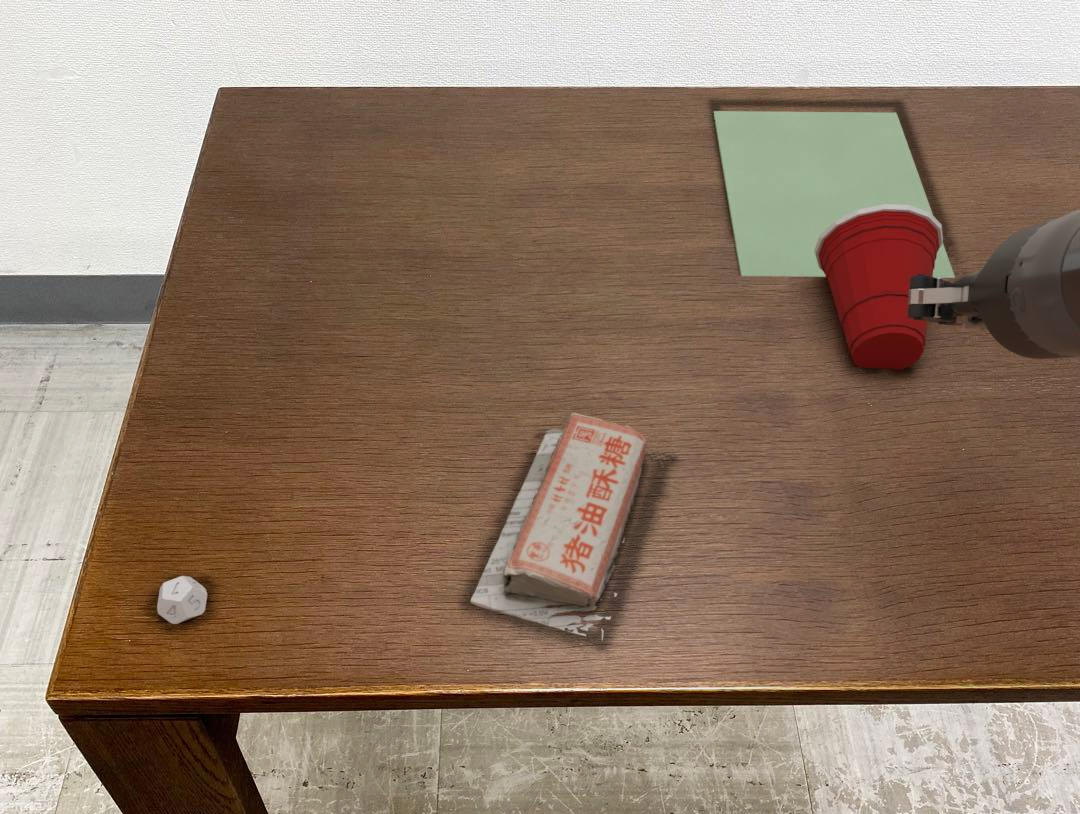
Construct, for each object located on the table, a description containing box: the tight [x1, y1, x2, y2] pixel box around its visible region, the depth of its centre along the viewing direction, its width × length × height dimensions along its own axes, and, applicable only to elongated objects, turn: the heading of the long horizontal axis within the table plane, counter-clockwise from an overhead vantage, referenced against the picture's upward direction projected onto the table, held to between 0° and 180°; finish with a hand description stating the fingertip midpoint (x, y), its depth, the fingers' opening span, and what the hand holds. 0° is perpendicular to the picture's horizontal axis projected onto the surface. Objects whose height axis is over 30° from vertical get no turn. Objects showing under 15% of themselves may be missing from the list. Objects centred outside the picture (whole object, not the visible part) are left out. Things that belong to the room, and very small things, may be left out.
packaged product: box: [470, 412, 647, 641], centre depth 77 cm, size 18×5×10 cm
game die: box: [156, 575, 208, 625], centre depth 73 cm, size 4×4×3 cm
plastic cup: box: [814, 204, 944, 370], centre depth 88 cm, size 11×11×12 cm
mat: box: [713, 110, 956, 279], centre depth 103 cm, size 20×32×1 cm, turn 0°
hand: (953, 309), depth 71 cm, fingers closed
